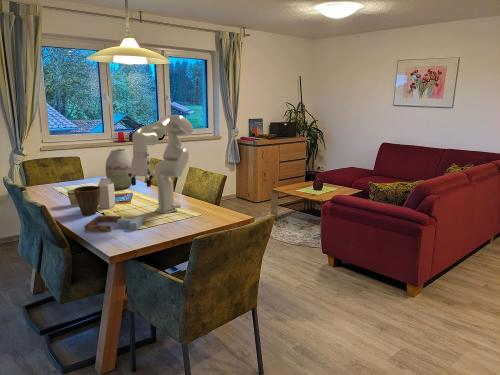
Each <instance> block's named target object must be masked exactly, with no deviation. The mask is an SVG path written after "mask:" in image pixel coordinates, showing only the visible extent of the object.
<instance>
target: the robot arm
mask: <svg viewBox="0 0 500 375" xmlns="http://www.w3.org/2000/svg"><path fill="white" fill-rule="evenodd" d="M192 124H193V123H191V122H190V121H189V120H188V119H187V118H186V117H184V116H182V115H180V114H165V115H164V116H163V117H161V118H160V119H158V120H157V121H156V122H154V123H153V122H152V123H149V124H147V125H144V126H141V127H139V128H138V129H137V130H136V131H134V132H133V133H132V157H131V158H132V165H131V168H130V169H129V170H127V173H128V175H129V176H130V178H131V186H132V187H133V186H136V185H137V180H136V177H145V178H146V187H147V188H149V187H151V186H152V179H153V178H154V176H155V175H156V181H157V199H158V200H157V202H158V204H157V205H158V207H157V208H156V209H155V210H156V211H155V212H156V213H161V214H171V213H174V212H176V211H177V209H181V207H182V206H181V205H180V204H176V202H175V201H174V200H175V198H174V195H175V193H174V182H173V179H172V178H181V177H182V176H183V174H184V172H185V169H186V166H187V164H188V161H189V156H190V155H189V154H190V153H189V151H188V149H186V148H184V147H182V144H183V143H182V141H181V139H180V138H179V136H190V135H192V133H193V132H194V127H193V125H192ZM165 134H167V138H168V142H167V145H166V147H165V150H164V152H163V156H162V158H163V160H160V161H158V162H156V164H155V166H154V170H155V171H154V170H152V168H151V162H150V157H149V156H150V153H148V146H155V145H157V143H158V142H159V137H162V136H164V135H165Z"/></svg>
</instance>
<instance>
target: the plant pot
mask: <svg viewBox="0 0 500 375" xmlns="http://www.w3.org/2000/svg"><path fill="white" fill-rule="evenodd" d="M73 190H74V193H75V197H76V200H77V203H78V206H79V207H78V208H79V210H80V212H81V213H82V216H87V217H88V216H94V215H96V213H97V210H98V207H99V198H100V187H98V185H84V186H79V187H76V188H75V187H74V189H73Z"/></svg>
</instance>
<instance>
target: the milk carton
mask: <svg viewBox="0 0 500 375" xmlns="http://www.w3.org/2000/svg"><path fill="white" fill-rule="evenodd" d="M97 186H98V187H100V198H99V204H98V207H99V208H100V209H111V208H113V207H116V197H115V195H116V194H115V189H114V183H113V182H112V181H111V179H108V178H107V177H105V178H104V177H103V178H102V177H100V180H99V182H98V184H97Z"/></svg>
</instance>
